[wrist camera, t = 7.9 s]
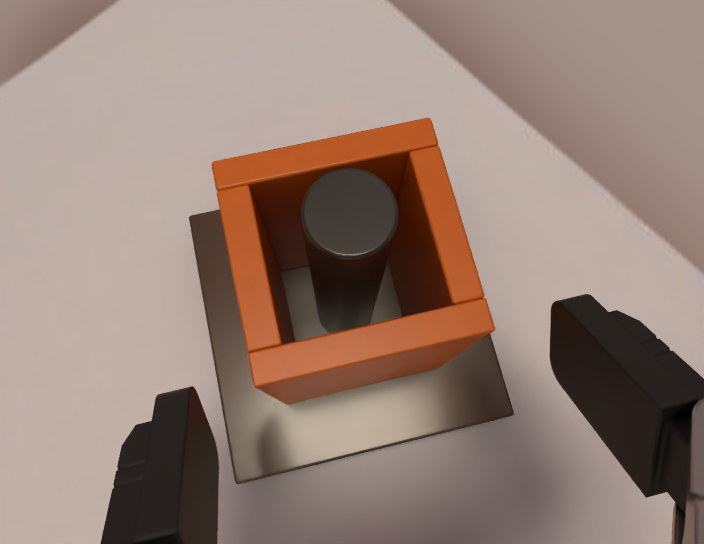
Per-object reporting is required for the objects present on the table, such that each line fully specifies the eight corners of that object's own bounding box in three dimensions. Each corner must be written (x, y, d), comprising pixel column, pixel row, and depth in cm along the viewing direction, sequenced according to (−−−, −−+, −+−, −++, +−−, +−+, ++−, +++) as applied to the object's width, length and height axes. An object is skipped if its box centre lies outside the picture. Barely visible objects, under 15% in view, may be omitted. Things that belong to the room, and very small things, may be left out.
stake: (433, 178, 25) (510, -31, 14) (503, 416, 22) (669, 398, 11) (197, 228, 24) (73, 50, 13) (242, 481, 21) (136, 533, 10)
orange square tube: (399, 225, 22) (431, 115, 15) (438, 368, 21) (496, 330, 13) (255, 256, 22) (210, 160, 14) (285, 404, 21) (253, 388, 13)
